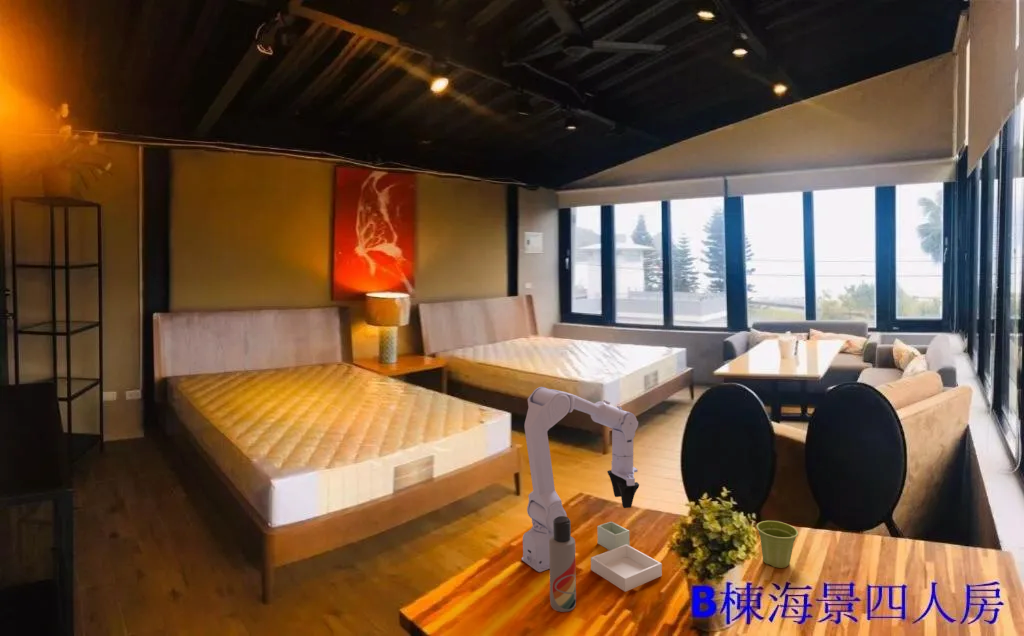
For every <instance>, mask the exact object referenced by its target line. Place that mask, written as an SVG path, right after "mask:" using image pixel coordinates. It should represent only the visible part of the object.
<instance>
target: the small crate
mask: <svg viewBox="0 0 1024 636" xmlns="http://www.w3.org/2000/svg"><path fill="white" fill-rule="evenodd" d="M596 532H597V544H598V545H600V546H601V547H604V548H605V549H606V550H607V551H610V550H612V549H615V548H618V547H620V546H623V545H626V544H627V545H629V546H631V545H630V530H629V529H627V528H625V527H623V526H621V525H619V524H618V523H616V522H613V521H612V520H611V521H608V522H605V523H602V524H600V525H597V531H596Z"/></svg>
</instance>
